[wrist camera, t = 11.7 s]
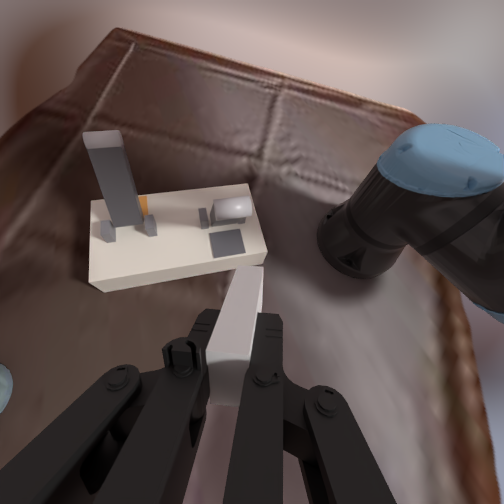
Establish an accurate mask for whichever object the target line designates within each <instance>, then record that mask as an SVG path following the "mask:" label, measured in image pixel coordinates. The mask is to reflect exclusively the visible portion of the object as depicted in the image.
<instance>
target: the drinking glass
mask: <svg viewBox="0 0 504 504" xmlns="http://www.w3.org/2000/svg"><path fill="white" fill-rule="evenodd" d="M12 387H13V380H12V376H11V373H10V370H9V369H7V368H6V366H4V365H2V364H1V363H0V413H1V412H2V411H3V410H4V408H5V406H6V405H7V403H8V401H9V399H10V396H11V392H12Z"/></svg>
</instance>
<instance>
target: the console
mask: <svg viewBox="0 0 504 504" xmlns="http://www.w3.org/2000/svg"><path fill="white" fill-rule="evenodd" d="M247 195H249V197H250V200H251V204H252V215H251V216H249V217H246V218H244V219H243V220H241V221H240V222H238V223H236V224H230V225H223V226H216V227H212V226H211V220H210V212H211V209H212V205H213V200H214V199H222V198H231V197H239V196H247ZM138 198H139V201H140V205H141V208H142V212H143V216H144V219H145V220H144V223H143V224H140V225H132V226H125V227H117V228H114V226H113V223H112V220H111V217H110V214H109V212H108V209H107V206H106V203H105V200H104V199H102V200H93V201H91V220H90V254H89V283H90V284H92V285H93V286H95V287H96V288H98V289H100V290H101V291H103V292H109V291H115V290H120V289H126V288H131V287H137V286H142V285H148V284H153V283H159V282H164V281H170V280H175V279H181V278H186V277H192V276H197V275H203V274H209V273H214V272H220V271H225V270H231V269H236V268H237V267H238V265H242V266H253V265H258V264H263V262H264V259H265V257H266V254H267V252H268V251H267V248H266V244H265V241H264V238H263V234H262V231H261V227H260V224H259V220H258V217H257V213H256V210H255V207H254V203H253V200H252V196H251V193H250V189H249V186H248V183H247V184H237V185H228V186H219V187H210V188H201V189H192V190H183V191H174V192H165V193H156V194H147V195H138Z"/></svg>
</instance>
